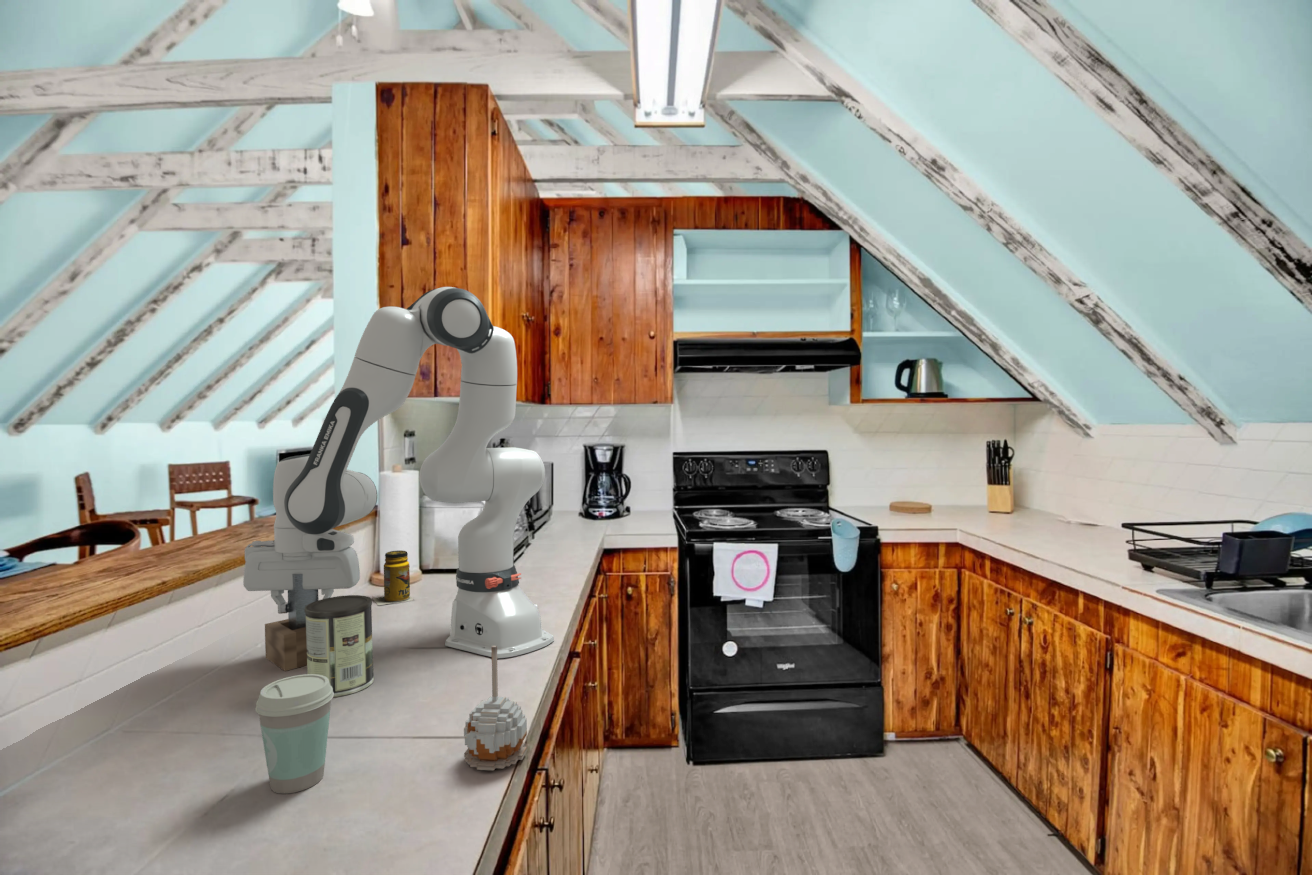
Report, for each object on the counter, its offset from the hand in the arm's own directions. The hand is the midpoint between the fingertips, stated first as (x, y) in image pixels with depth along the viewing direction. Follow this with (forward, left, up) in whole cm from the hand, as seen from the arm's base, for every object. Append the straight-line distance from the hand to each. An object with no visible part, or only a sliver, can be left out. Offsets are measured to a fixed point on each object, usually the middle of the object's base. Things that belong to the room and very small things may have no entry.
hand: (303, 612), depth 123 cm
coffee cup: (-45, +17, -9) cm, 49 cm away
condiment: (+25, -30, -9) cm, 40 cm away
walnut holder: (0, 0, -9) cm, 9 cm away
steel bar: (0, 0, -7) cm, 7 cm away
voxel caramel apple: (-59, -2, -9) cm, 60 cm away
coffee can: (-19, +1, -9) cm, 21 cm away
